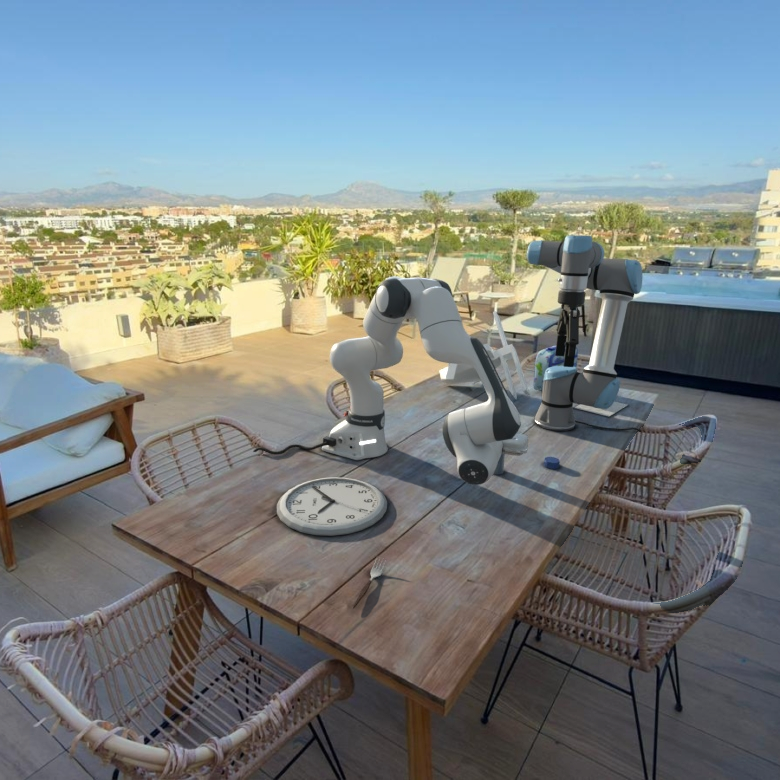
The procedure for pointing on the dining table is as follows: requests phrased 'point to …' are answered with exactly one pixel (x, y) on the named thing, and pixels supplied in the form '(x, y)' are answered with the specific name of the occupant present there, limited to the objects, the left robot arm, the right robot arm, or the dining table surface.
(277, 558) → the dining table surface
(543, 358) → the lunch box
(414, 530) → the dining table surface
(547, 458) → the cap
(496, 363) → the white plastic object
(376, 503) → the wall clock
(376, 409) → the left robot arm
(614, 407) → the invitation card
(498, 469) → the bottle
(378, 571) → the fork
